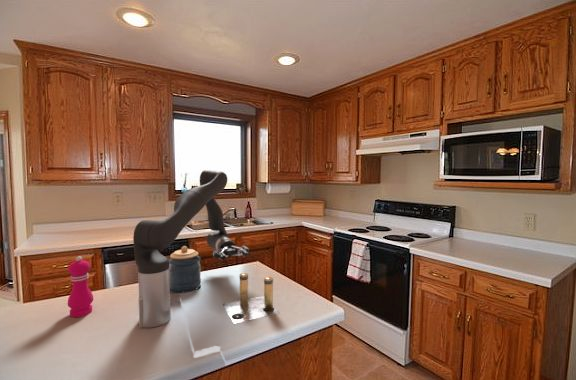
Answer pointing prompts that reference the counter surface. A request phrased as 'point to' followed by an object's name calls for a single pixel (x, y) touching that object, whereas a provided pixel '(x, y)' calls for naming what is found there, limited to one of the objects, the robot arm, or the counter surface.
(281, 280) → the counter surface
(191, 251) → the canister
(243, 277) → the loose brass leg
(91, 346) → the counter surface
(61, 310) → the counter surface
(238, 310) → the flange plate
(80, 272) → the pepper mill
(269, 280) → the fixed brass leg
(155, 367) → the counter surface
